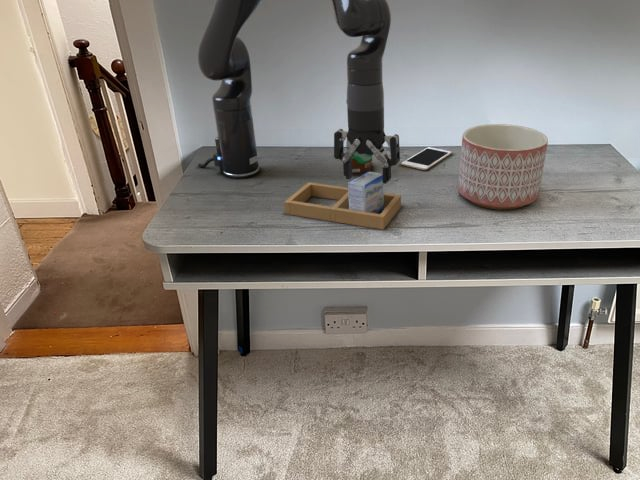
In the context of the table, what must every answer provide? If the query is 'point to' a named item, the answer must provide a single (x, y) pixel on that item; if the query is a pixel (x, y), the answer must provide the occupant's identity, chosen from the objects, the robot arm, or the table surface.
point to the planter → (501, 165)
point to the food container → (360, 162)
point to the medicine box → (367, 193)
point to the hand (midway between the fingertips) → (367, 180)
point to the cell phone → (426, 158)
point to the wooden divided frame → (339, 206)
